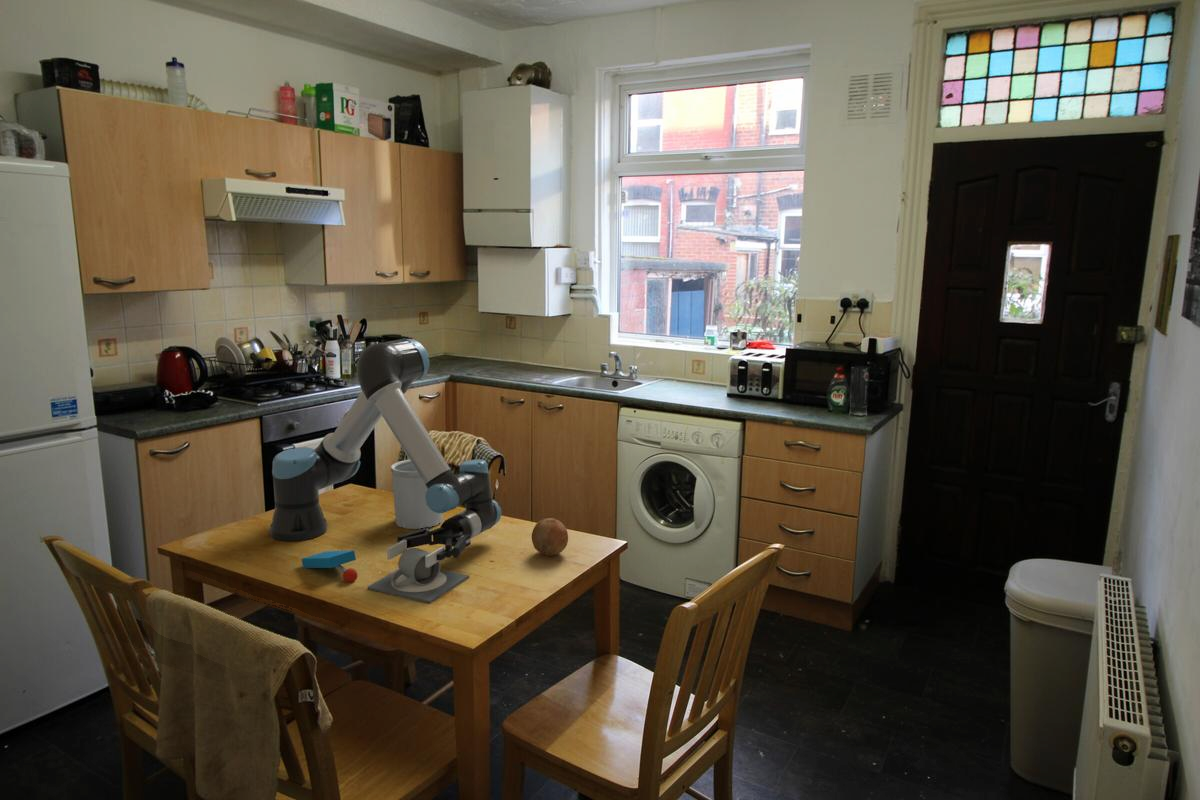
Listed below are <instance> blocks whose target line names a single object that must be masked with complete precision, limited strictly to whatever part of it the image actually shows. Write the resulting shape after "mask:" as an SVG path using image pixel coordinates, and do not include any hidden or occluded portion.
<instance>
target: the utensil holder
mask: <svg viewBox="0 0 1200 800" xmlns="http://www.w3.org/2000/svg"><path fill="white" fill-rule="evenodd" d="M390 472H391V475H392V477H391V478H392V491H393V492H392V493H393V507H394V518H395V524H396V526H397V527H399V528H402V527H403V528H402V529H407V530H421V528H424V527H429V528H433V527H435V526H437V525H438V526H439V525H440V524H442V523H443V520H444V513H436V512H434V511H432V510H431V509H430V508H429V507H428V506H427V503H426V498H425V495H426V492H427V490H428V489H427V487H426V485H425V483H424V482H423V480H422V479H421V477H420V475H419V474H418V472H417V471H416V469H415V467H414V466H413V464H412V463H411V461H410V459H405V460H401V461H398V462H395V463H393V464H392V465H391V466H390ZM439 523H440V524H439ZM432 526H433V527H432Z"/></svg>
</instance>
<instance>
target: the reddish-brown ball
mask: <svg viewBox="0 0 1200 800" xmlns="http://www.w3.org/2000/svg"><path fill="white" fill-rule="evenodd" d="M531 542H532V545H533V548H534V549H535V551H537V552H538V553H539V554H541V555H543V556H548V557H552V556H556V555H558V554H559V555H560V553H563V551H564V550H565V549H566V547H567V545H568V543H569V533H568V529H567V527H566V526H565V524H564V523H562V522H561V521H560V520H558V519H556V518H553V517H551V518H550V517H548V518H542V519H540V520H539V521H538V522H536V524H535V525H534V527H533V529H532V531H531Z"/></svg>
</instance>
